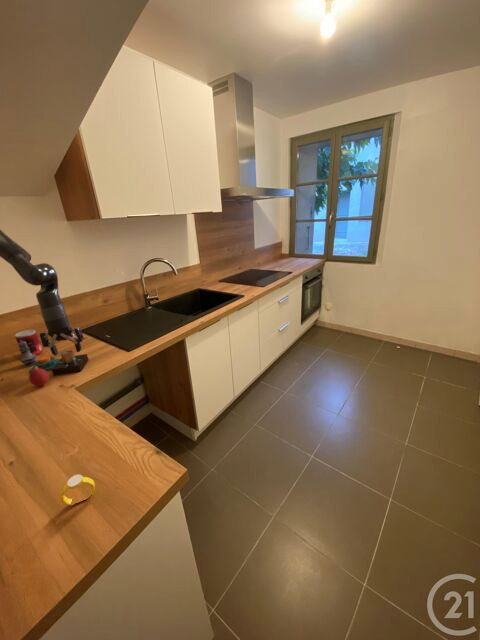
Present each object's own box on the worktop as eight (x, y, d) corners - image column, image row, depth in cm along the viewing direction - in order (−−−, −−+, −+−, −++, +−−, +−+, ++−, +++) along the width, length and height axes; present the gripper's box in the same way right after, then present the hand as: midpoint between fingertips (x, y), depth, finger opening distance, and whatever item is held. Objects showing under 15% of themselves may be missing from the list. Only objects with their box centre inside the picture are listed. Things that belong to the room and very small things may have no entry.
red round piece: (42, 390, 95) (34, 372, 92) (29, 389, 96) (21, 371, 93) (55, 381, 100) (48, 363, 98) (42, 380, 102) (35, 362, 99)
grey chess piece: (23, 369, 111) (12, 344, 106) (20, 365, 114) (10, 340, 110) (40, 363, 115) (30, 338, 110) (36, 359, 118) (27, 335, 114)
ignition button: (38, 364, 109) (37, 360, 108) (43, 360, 112) (41, 356, 111) (48, 363, 109) (47, 359, 108) (52, 358, 112) (51, 355, 112)
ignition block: (29, 373, 107) (27, 367, 106) (39, 364, 114) (37, 358, 113) (56, 369, 109) (54, 363, 108) (64, 360, 116) (62, 354, 115)
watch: (65, 513, 54) (55, 493, 52) (66, 501, 56) (57, 481, 54) (97, 498, 56) (89, 479, 54) (97, 487, 59) (90, 468, 56)
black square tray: (53, 375, 104) (51, 369, 103) (64, 363, 113) (61, 357, 112) (80, 371, 106) (78, 365, 105) (88, 359, 115) (86, 353, 114)
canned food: (37, 349, 129) (29, 328, 125) (46, 351, 125) (38, 330, 121) (19, 356, 122) (10, 335, 118) (29, 359, 119) (20, 337, 115)
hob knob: (62, 364, 106) (58, 354, 104) (66, 359, 110) (62, 349, 108) (73, 363, 107) (70, 352, 105) (77, 357, 111) (74, 347, 109)
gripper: (78, 310, 106) (89, 346, 112) (39, 315, 103) (52, 351, 109) (71, 317, 99) (83, 354, 105) (29, 322, 97) (44, 360, 103)
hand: (67, 352), depth 107 cm, fingers open, 8 cm apart
